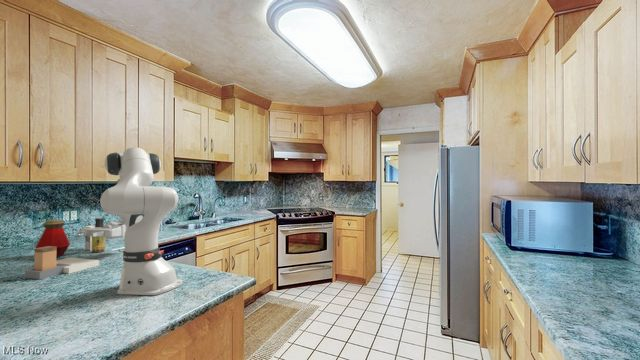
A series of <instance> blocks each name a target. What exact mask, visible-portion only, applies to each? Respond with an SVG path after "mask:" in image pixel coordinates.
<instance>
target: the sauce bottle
mask: <svg viewBox="0 0 640 360" xmlns="http://www.w3.org/2000/svg"><path fill="white" fill-rule="evenodd" d="M104 220H105V218H104V217H95V219H94V222H95V224H94V225H95V227H104V226H105V225H104ZM91 249H92V250H91V253H94V254H96V253H103V252H105V251H106V237H98V236H95V237H92V248H91Z"/></svg>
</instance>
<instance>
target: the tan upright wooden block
mask: <svg viewBox="0 0 640 360" xmlns="http://www.w3.org/2000/svg"><path fill="white" fill-rule="evenodd" d="M56 253H57V247H53V246H46V247H41V248H34V264H33V265H34V266H33V268H34V270H35V271H44V270H48V269H52V268H56V260H57V258H56Z"/></svg>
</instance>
